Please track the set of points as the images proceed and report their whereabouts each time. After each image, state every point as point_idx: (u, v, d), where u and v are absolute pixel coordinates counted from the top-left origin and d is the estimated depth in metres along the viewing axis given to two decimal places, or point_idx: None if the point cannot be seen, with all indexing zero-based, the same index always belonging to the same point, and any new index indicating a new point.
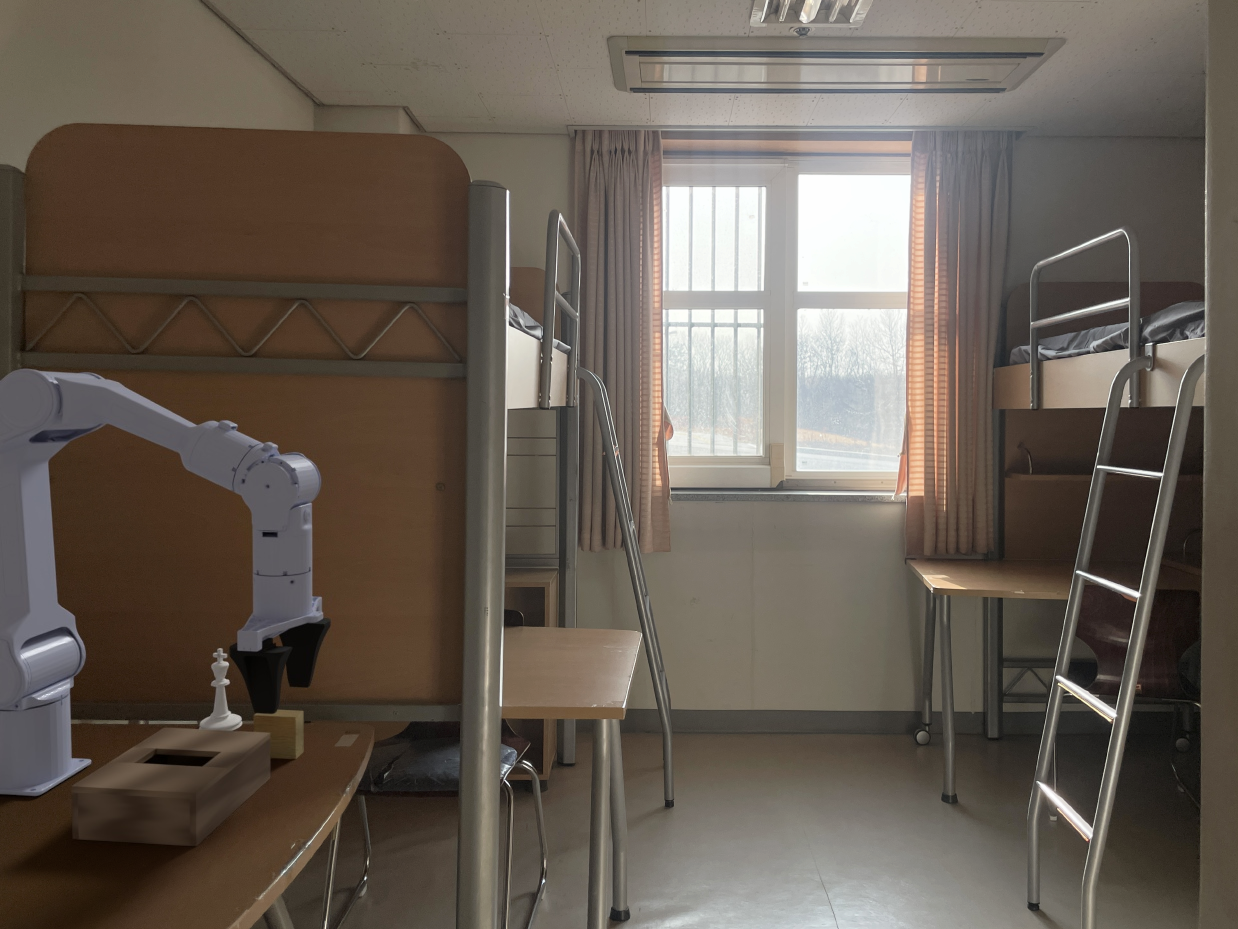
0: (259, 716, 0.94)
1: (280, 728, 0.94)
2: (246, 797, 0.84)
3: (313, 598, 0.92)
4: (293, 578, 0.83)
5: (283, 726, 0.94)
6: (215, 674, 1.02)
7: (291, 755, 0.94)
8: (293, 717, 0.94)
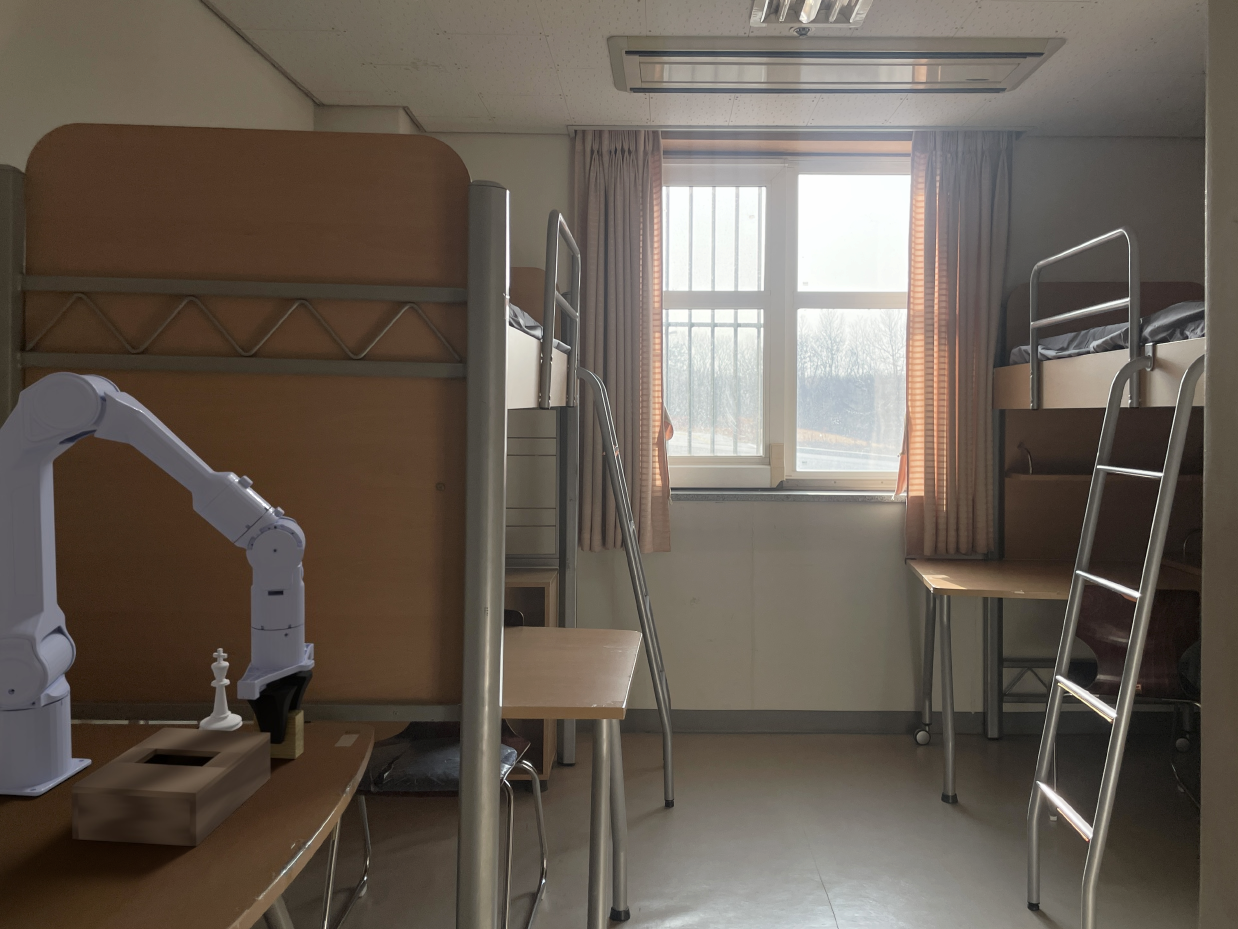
0: None
1: None
2: (246, 797, 0.84)
3: (306, 645, 1.02)
4: (287, 631, 0.93)
5: None
6: (215, 674, 1.02)
7: (291, 754, 0.94)
8: (293, 716, 0.94)
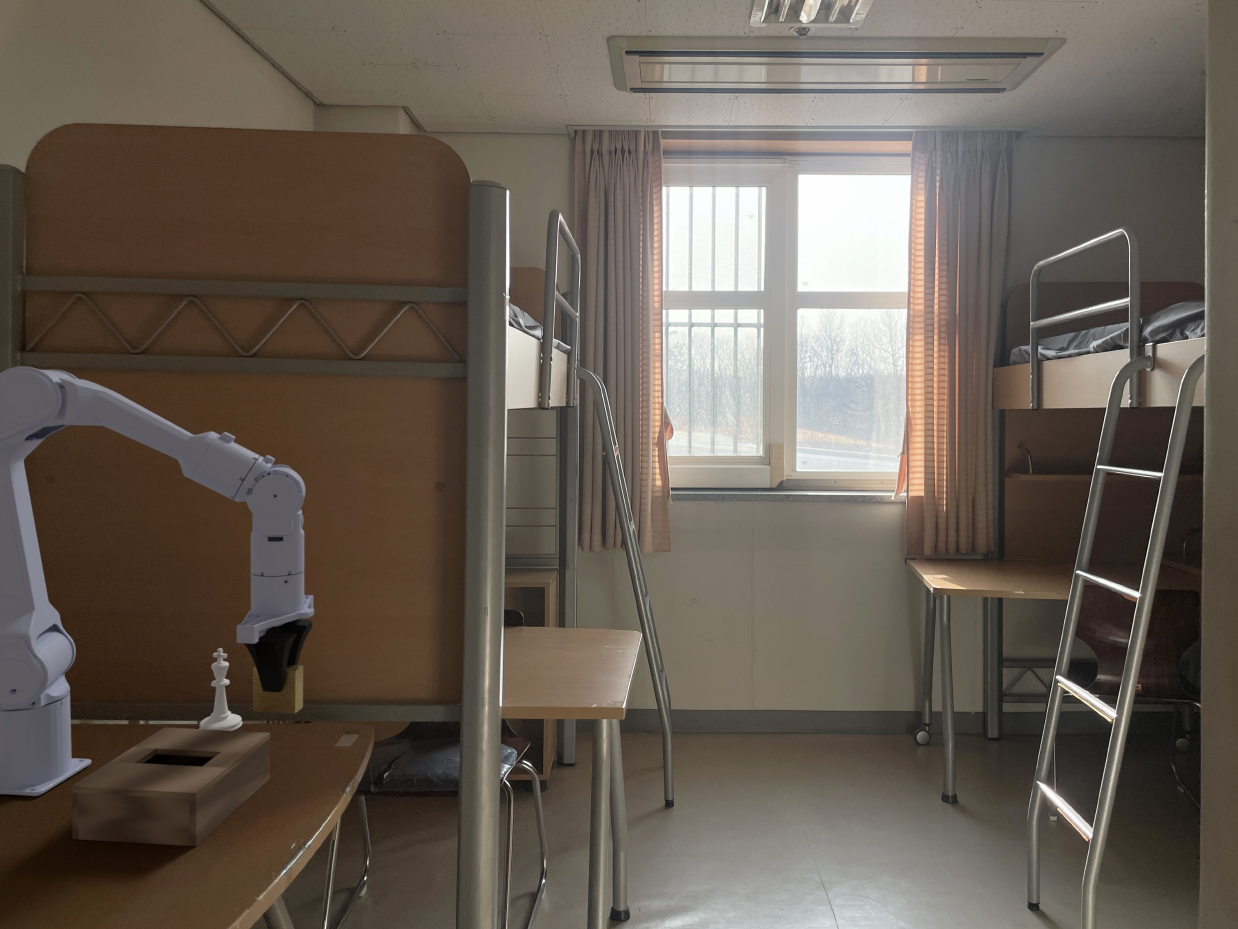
0: None
1: None
2: (246, 797, 0.84)
3: (305, 596, 1.01)
4: (287, 578, 0.92)
5: None
6: (215, 674, 1.02)
7: (290, 709, 0.94)
8: (293, 671, 0.94)
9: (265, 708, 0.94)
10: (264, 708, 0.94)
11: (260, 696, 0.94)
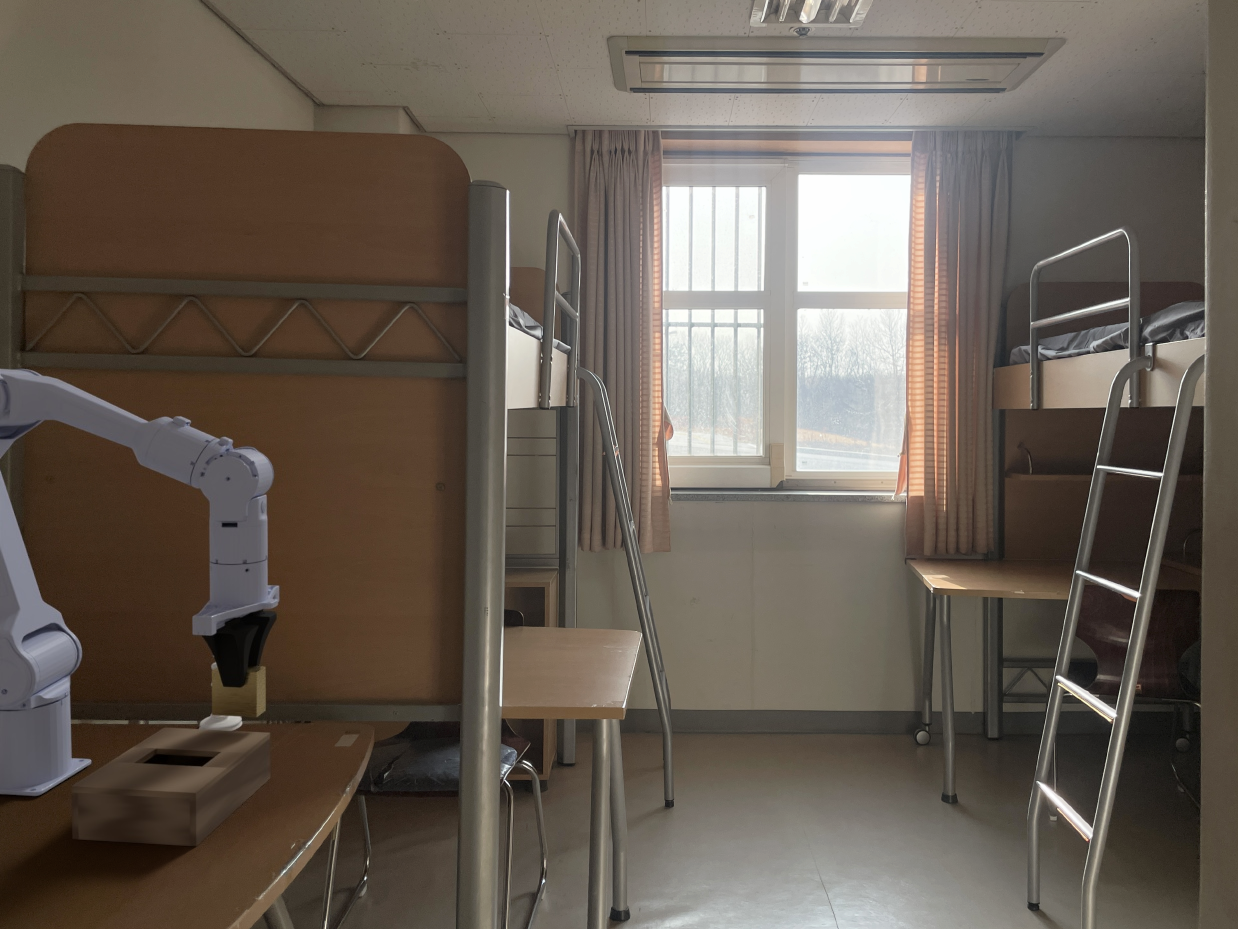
0: (218, 671, 0.89)
1: None
2: (246, 797, 0.84)
3: (271, 587, 0.96)
4: (248, 566, 0.87)
5: None
6: None
7: (252, 713, 0.89)
8: (254, 672, 0.89)
9: (225, 712, 0.89)
10: (224, 711, 0.89)
11: (219, 699, 0.89)
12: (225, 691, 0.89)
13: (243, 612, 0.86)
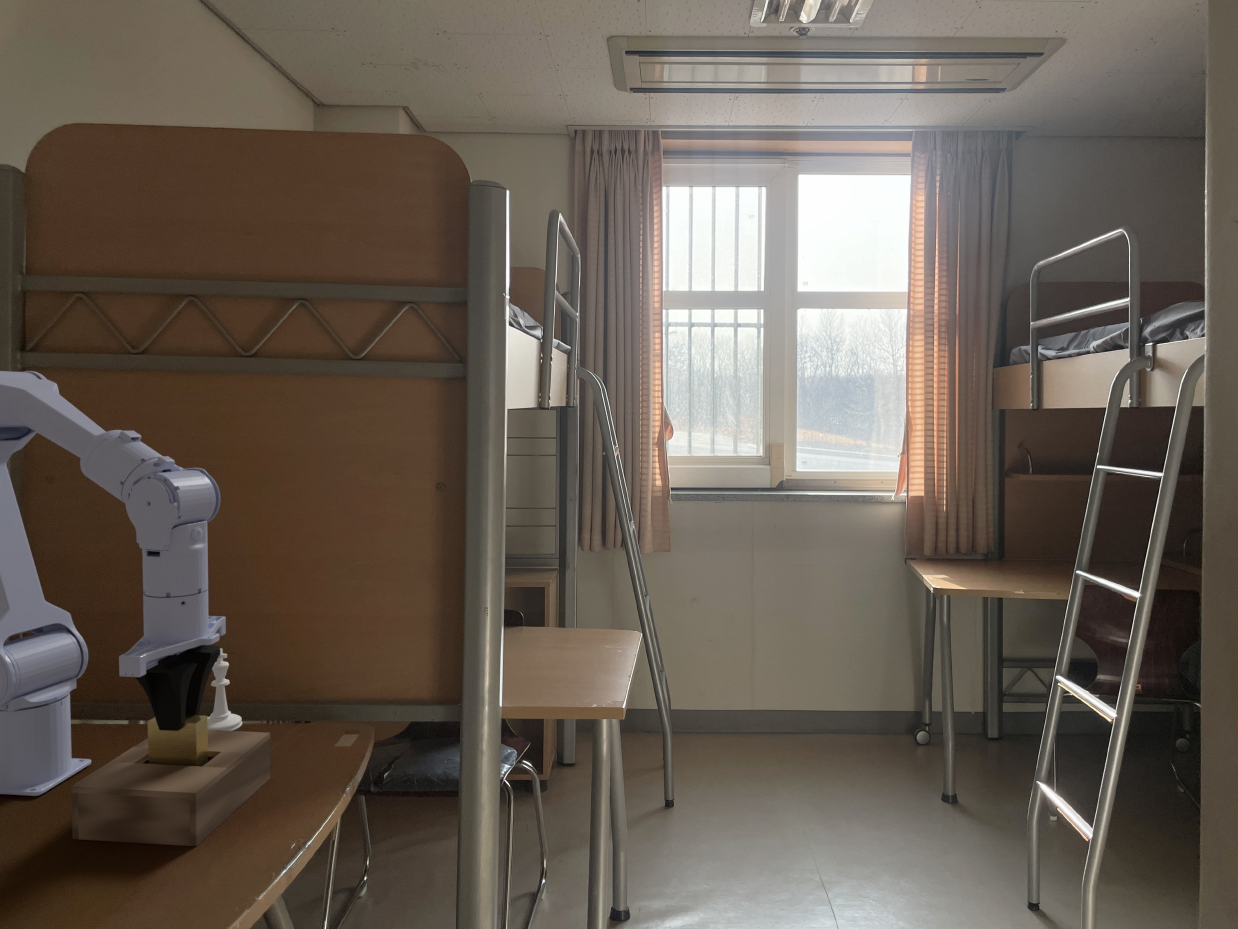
0: (154, 722, 0.81)
1: (178, 736, 0.81)
2: (246, 797, 0.84)
3: (216, 618, 0.89)
4: (184, 599, 0.79)
5: (181, 734, 0.81)
6: (215, 674, 1.02)
7: None
8: (193, 723, 0.81)
9: None
10: None
11: (156, 753, 0.82)
12: (162, 744, 0.82)
13: (178, 649, 0.79)
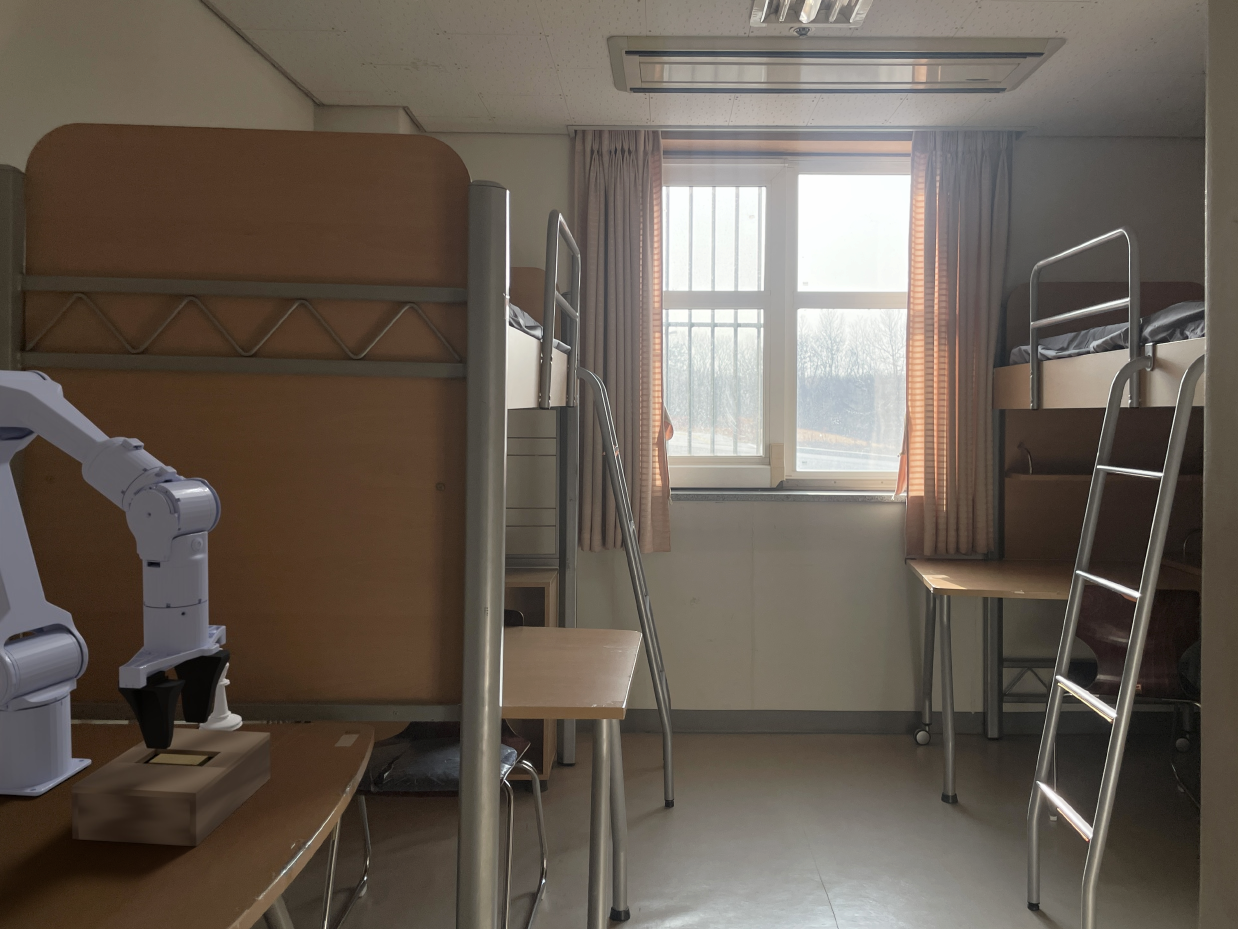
0: (155, 763, 0.82)
1: None
2: (246, 797, 0.84)
3: (216, 627, 0.89)
4: (184, 610, 0.79)
5: None
6: None
7: None
8: (194, 764, 0.82)
9: None
10: None
11: None
12: None
13: (178, 660, 0.79)
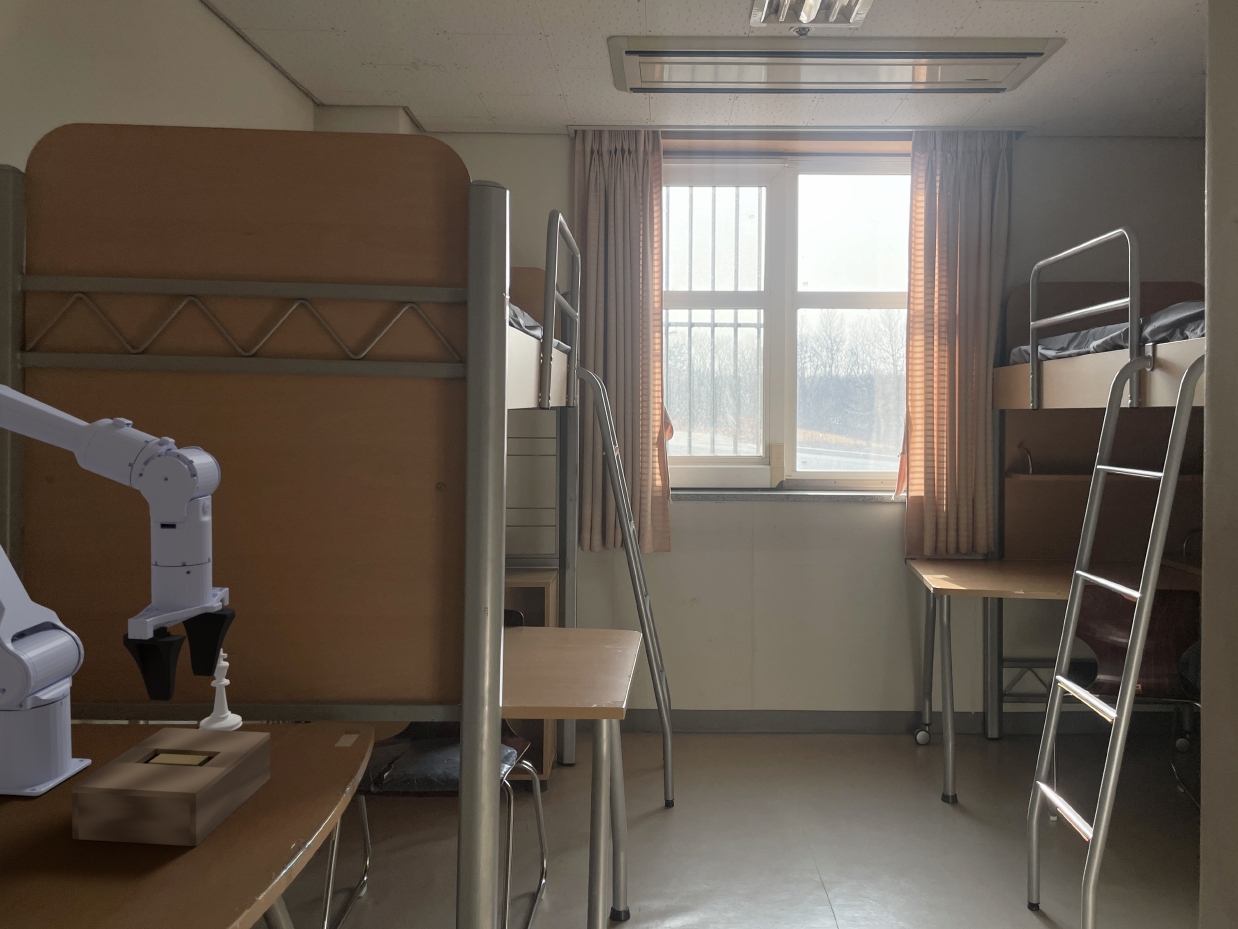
0: (155, 763, 0.82)
1: None
2: (246, 797, 0.84)
3: (220, 589, 0.94)
4: (189, 569, 0.85)
5: None
6: (215, 674, 1.02)
7: None
8: (194, 764, 0.82)
9: None
10: None
11: None
12: None
13: (183, 615, 0.84)
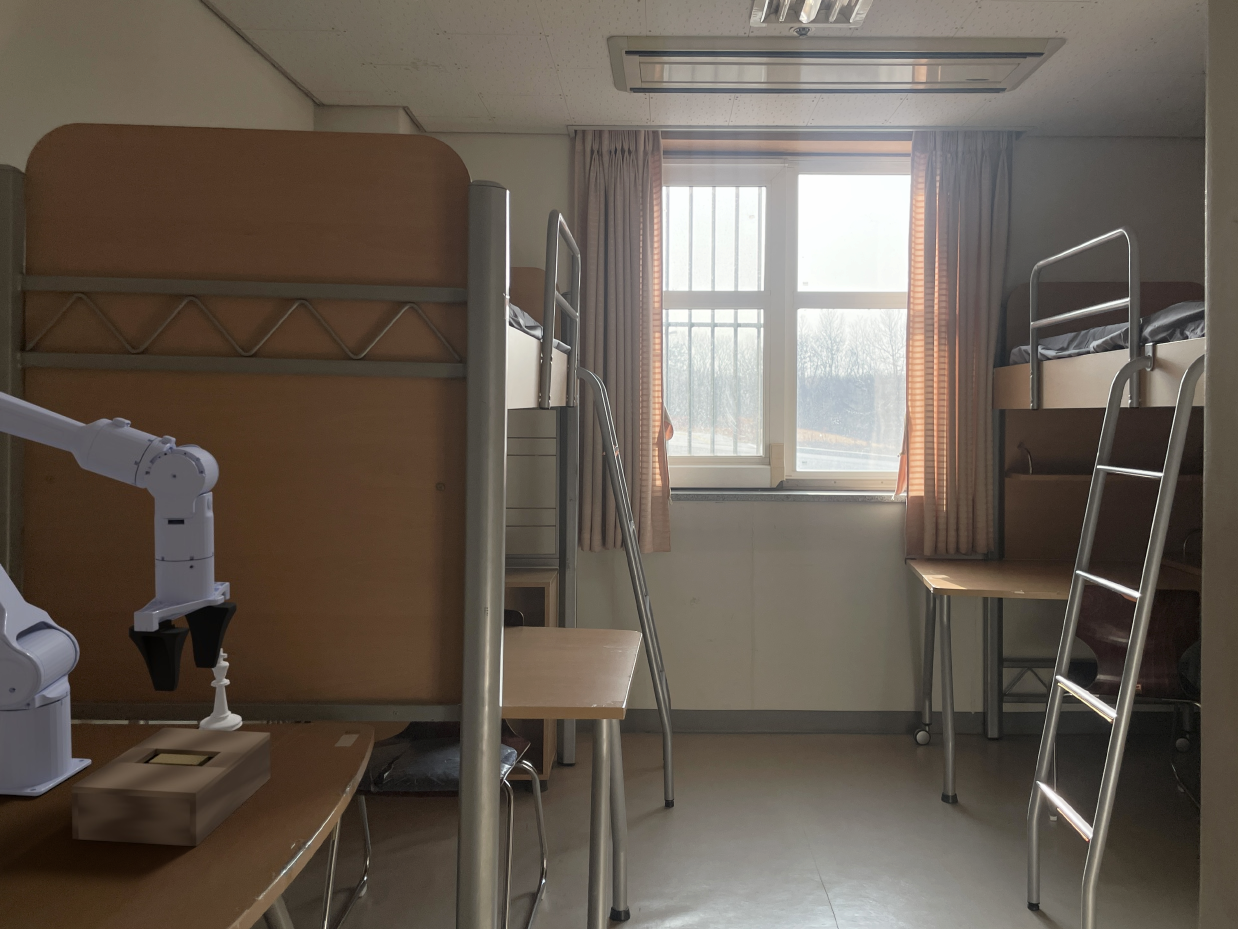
0: (155, 763, 0.82)
1: None
2: (246, 797, 0.84)
3: (221, 583, 0.97)
4: (192, 563, 0.87)
5: None
6: (215, 674, 1.02)
7: None
8: (194, 764, 0.82)
9: None
10: None
11: None
12: None
13: (187, 608, 0.87)
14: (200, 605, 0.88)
